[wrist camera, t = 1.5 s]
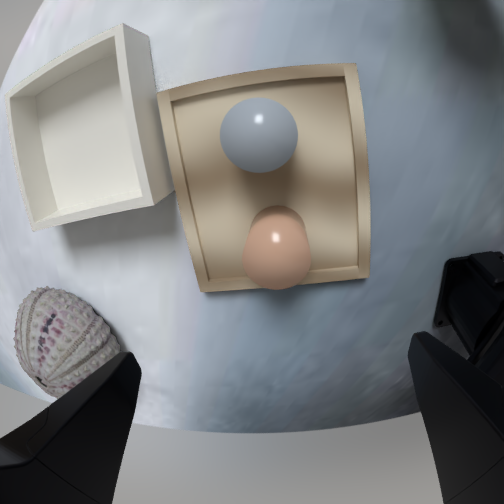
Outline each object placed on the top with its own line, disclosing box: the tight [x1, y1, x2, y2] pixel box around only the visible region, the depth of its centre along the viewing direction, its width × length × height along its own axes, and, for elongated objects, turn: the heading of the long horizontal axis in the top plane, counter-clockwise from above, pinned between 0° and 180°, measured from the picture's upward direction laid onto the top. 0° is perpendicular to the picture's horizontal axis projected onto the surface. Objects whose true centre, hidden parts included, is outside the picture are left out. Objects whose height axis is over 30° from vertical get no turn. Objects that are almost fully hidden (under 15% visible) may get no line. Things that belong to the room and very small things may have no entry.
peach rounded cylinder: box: [242, 205, 311, 290], centre depth 17 cm, size 4×4×4 cm
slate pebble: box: [220, 97, 298, 173], centre depth 15 cm, size 4×4×4 cm
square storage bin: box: [5, 23, 175, 232], centre depth 16 cm, size 11×11×4 cm
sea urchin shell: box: [13, 286, 120, 399], centre depth 23 cm, size 13×14×8 cm
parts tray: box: [156, 63, 370, 292], centre depth 18 cm, size 14×12×1 cm
